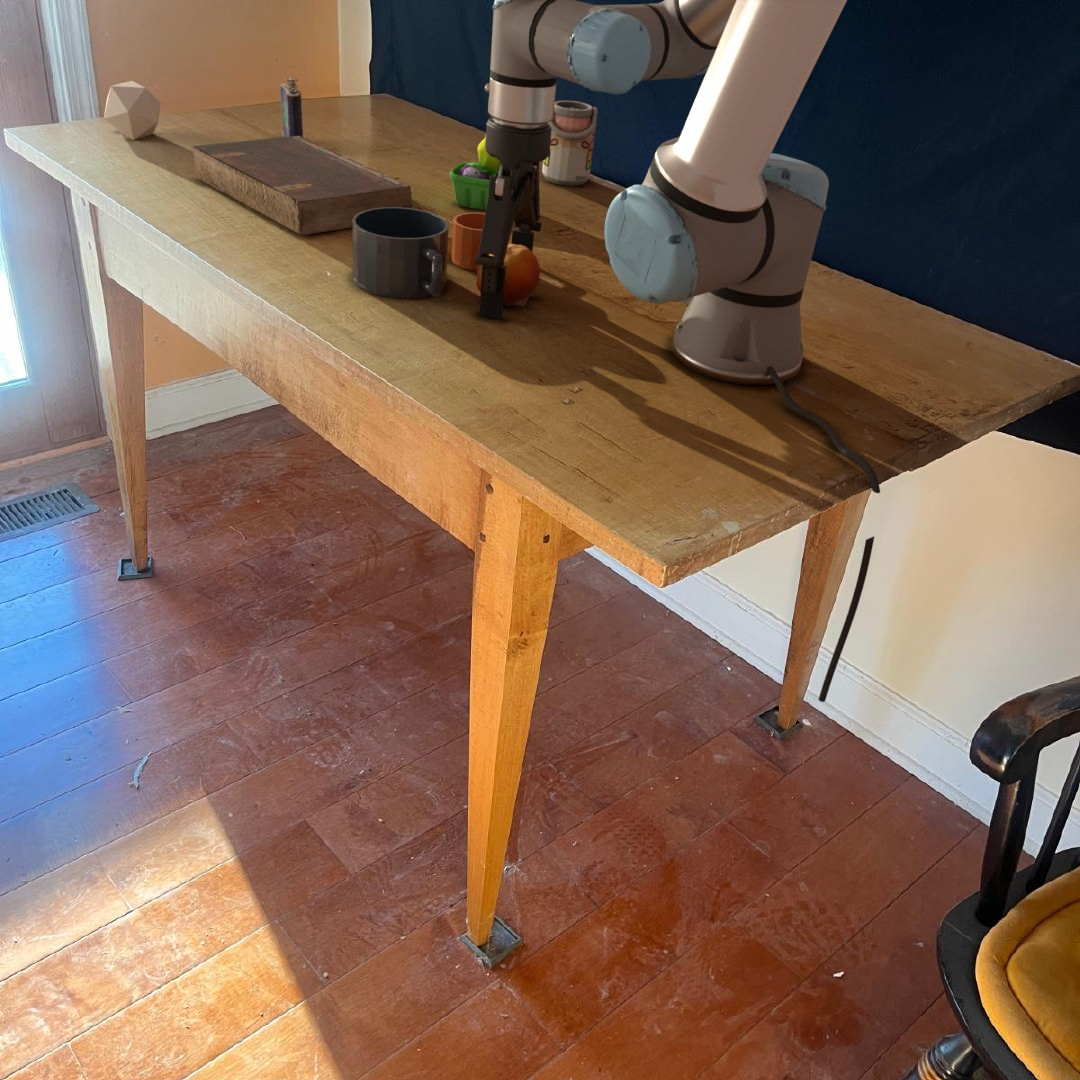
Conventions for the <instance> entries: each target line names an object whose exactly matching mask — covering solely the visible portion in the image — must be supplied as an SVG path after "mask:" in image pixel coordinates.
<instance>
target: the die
mask: <svg viewBox="0 0 1080 1080" xmlns="http://www.w3.org/2000/svg"><path fill="white" fill-rule="evenodd" d="M161 104H162V102H161V101H160V100H159V99H158V98H157V97H156V96H155V95H153V94H152V93H151V91H149V90H148V89H147V88H146V87H145V86H143V85H141V84H139V83H137V82H135V81H133V80H129V81H124V82H122V83H117V84H114V85H111V86H110V87H109V92H108V94H107V97H106V102H105V108H104V116H103V120H105V121H106V122H107V123H109V124H110V125H111V126H112V127H114V128H115V130H117V131H119V132H120V133H122V134H123V135H124V136H126V137H128V139H131V140H132V141H135V140H138V139H142V138H144V137H147V136H150V135H153V134H154V133H155V131H156V129H157V126H158V124H159V120H160V113H161V112H160V111H161Z"/></svg>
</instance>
